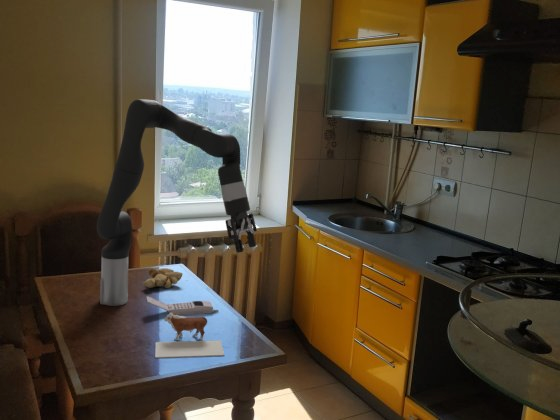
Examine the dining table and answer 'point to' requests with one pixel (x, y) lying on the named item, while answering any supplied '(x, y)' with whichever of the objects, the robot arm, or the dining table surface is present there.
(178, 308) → the mobile phone
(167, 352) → the mat
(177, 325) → the bull figurine
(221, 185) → the robot arm
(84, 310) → the dining table surface
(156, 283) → the ginger root
